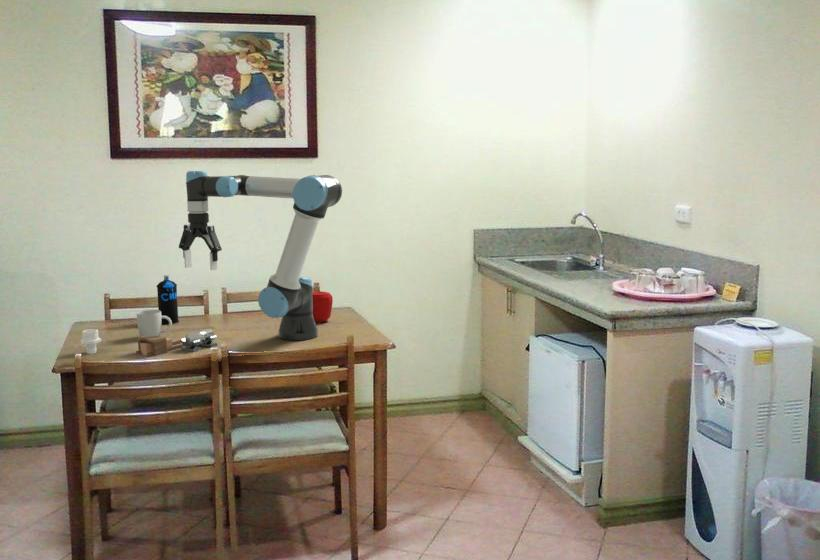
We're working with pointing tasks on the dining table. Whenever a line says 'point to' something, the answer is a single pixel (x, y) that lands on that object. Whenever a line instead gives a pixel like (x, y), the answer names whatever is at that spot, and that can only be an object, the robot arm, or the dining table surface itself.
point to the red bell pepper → (322, 306)
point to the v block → (192, 347)
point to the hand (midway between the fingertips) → (200, 268)
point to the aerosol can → (168, 300)
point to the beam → (157, 344)
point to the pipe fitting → (90, 340)
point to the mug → (151, 322)
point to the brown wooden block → (148, 346)
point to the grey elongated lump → (199, 336)
